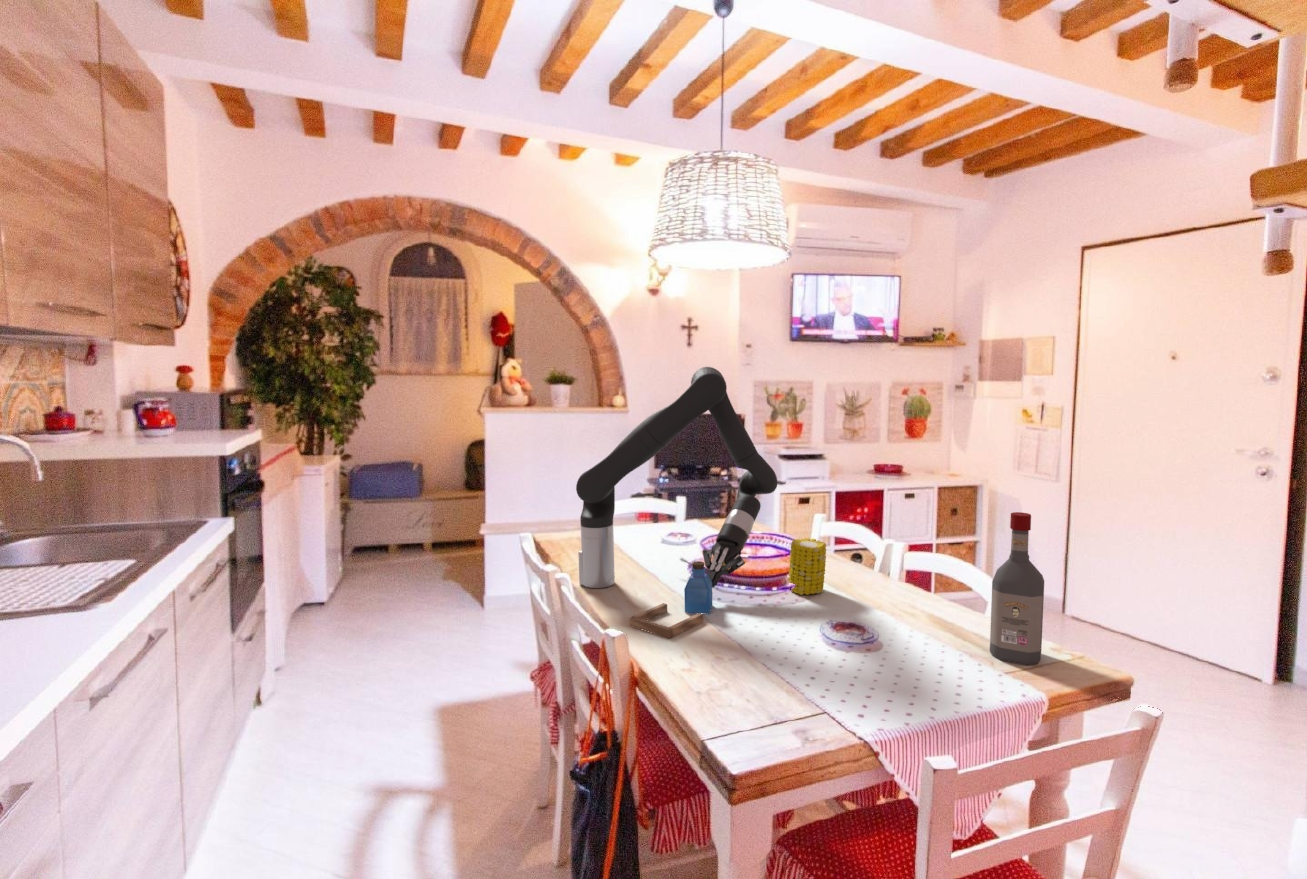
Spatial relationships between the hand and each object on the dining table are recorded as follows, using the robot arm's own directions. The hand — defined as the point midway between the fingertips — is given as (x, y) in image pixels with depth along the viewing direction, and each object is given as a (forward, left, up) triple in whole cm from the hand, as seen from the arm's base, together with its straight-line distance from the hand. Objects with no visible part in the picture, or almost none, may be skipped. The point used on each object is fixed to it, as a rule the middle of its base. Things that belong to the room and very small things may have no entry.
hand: (709, 585), depth 176 cm
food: (+21, +19, -5) cm, 29 cm away
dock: (-5, -17, -5) cm, 19 cm away
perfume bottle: (-1, -5, -5) cm, 7 cm away
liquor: (+70, -5, -5) cm, 70 cm away
